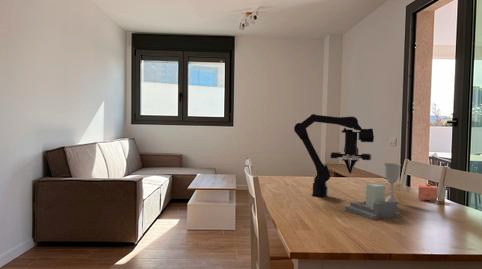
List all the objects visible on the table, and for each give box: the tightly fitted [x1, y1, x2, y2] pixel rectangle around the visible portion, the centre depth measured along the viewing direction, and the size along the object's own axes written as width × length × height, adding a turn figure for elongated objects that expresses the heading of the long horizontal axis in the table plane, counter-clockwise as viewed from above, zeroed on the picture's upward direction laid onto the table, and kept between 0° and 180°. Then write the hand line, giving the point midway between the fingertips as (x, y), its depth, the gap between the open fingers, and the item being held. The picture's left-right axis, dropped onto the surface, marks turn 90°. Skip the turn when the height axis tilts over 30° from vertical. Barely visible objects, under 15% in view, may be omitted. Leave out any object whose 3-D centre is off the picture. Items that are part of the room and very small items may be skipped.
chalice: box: [383, 162, 402, 203], centre depth 159 cm, size 7×7×18 cm
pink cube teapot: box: [417, 183, 438, 203], centre depth 163 cm, size 8×12×8 cm, turn 149°
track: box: [344, 200, 402, 221], centre depth 137 cm, size 16×14×6 cm
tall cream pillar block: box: [365, 183, 386, 208], centre depth 135 cm, size 5×5×10 cm
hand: (350, 173), depth 167 cm, fingers closed
